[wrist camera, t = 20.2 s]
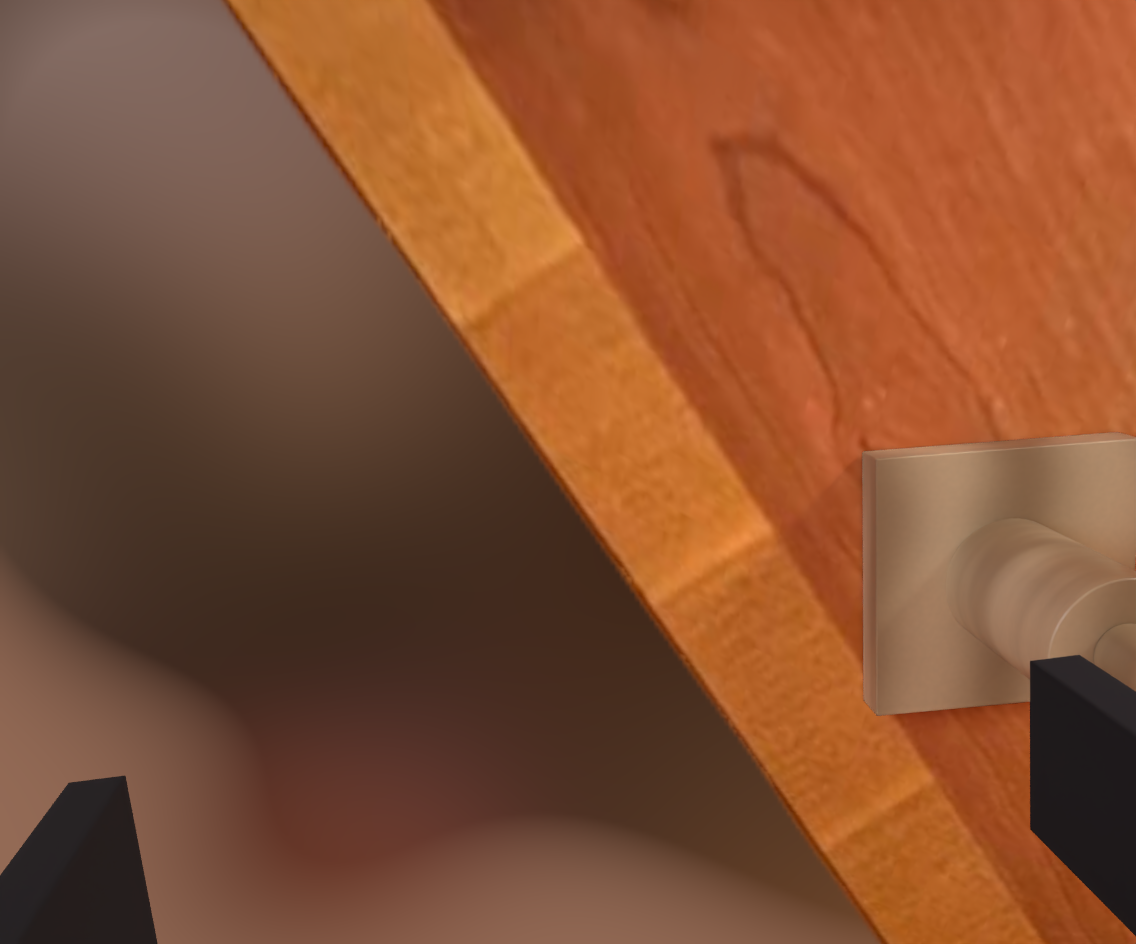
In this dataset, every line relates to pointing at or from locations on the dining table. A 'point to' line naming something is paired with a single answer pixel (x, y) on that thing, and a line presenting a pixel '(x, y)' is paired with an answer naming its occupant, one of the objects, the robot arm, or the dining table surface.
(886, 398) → the dining table surface
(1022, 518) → the dowel stand
